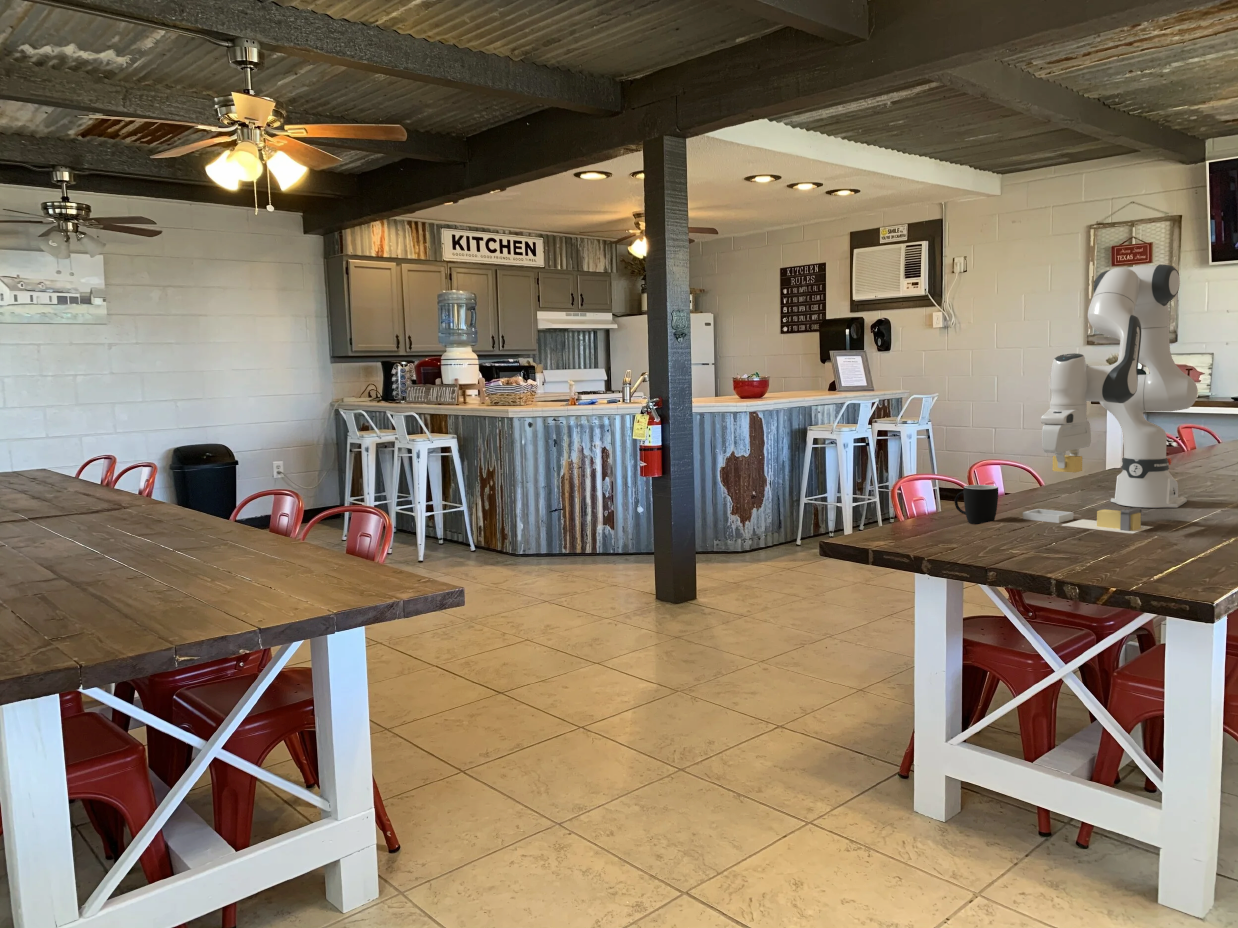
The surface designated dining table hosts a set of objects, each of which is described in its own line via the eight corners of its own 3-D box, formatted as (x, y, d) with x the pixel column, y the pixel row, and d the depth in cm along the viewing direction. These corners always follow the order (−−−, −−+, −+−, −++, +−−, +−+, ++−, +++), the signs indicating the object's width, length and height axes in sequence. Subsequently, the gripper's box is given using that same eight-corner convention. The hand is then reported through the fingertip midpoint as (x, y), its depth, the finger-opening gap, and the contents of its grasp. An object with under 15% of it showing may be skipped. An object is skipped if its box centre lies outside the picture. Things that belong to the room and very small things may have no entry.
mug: (1003, 522, 255) (1003, 486, 254) (989, 526, 249) (989, 489, 248) (962, 518, 264) (962, 483, 262) (947, 522, 257) (947, 486, 256)
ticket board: (1082, 523, 248) (1082, 501, 248) (1153, 531, 234) (1154, 507, 234) (1060, 529, 241) (1060, 506, 241) (1132, 538, 227) (1132, 513, 226)
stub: (1059, 469, 249) (1059, 454, 248) (1082, 471, 244) (1082, 456, 243) (1052, 471, 246) (1052, 456, 246) (1075, 472, 241) (1075, 457, 241)
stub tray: (1037, 519, 257) (1037, 508, 257) (1073, 523, 249) (1073, 512, 249) (1022, 522, 252) (1022, 512, 252) (1058, 527, 245) (1058, 516, 244)
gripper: (1074, 412, 252) (1073, 462, 254) (1037, 417, 240) (1036, 470, 241) (1097, 413, 247) (1096, 463, 249) (1061, 418, 235) (1060, 471, 236)
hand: (1067, 466), depth 245 cm, fingers closed on stub, 4 cm apart
